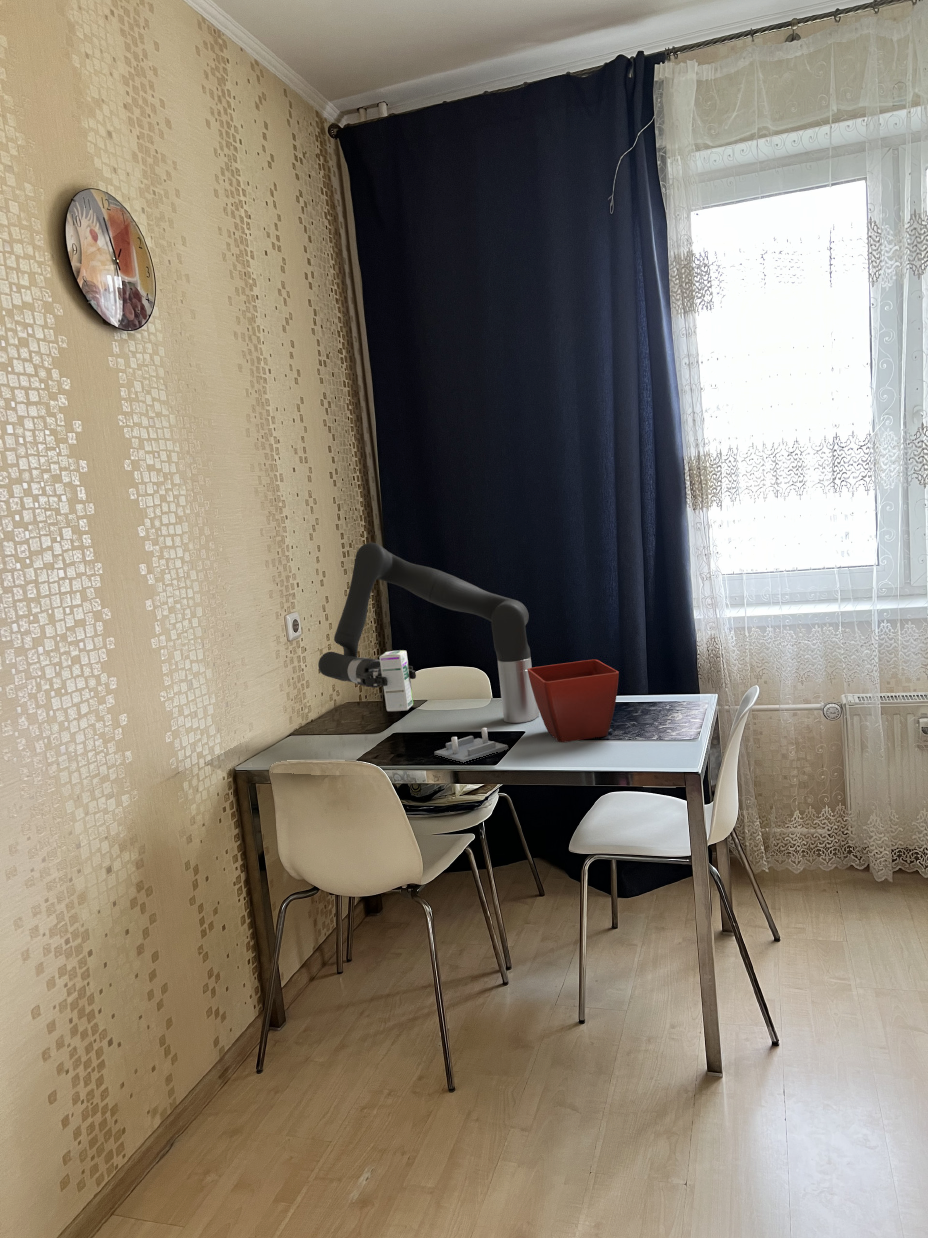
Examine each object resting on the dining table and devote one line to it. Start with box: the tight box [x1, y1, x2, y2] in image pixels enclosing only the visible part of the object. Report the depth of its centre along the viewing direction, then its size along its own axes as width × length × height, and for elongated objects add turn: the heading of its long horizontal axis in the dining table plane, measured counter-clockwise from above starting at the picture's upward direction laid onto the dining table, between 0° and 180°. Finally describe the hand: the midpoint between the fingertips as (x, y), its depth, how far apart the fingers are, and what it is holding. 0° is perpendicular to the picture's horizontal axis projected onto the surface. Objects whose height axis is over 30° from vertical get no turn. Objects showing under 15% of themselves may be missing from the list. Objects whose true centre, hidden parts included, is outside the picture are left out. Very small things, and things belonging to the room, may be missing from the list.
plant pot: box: [527, 659, 620, 743], centre depth 231 cm, size 19×19×17 cm
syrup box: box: [378, 649, 415, 712], centre depth 230 cm, size 6×6×14 cm
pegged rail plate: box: [434, 727, 509, 763], centre depth 226 cm, size 14×12×5 cm
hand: (400, 678), depth 228 cm, fingers closed on syrup box, 8 cm apart
